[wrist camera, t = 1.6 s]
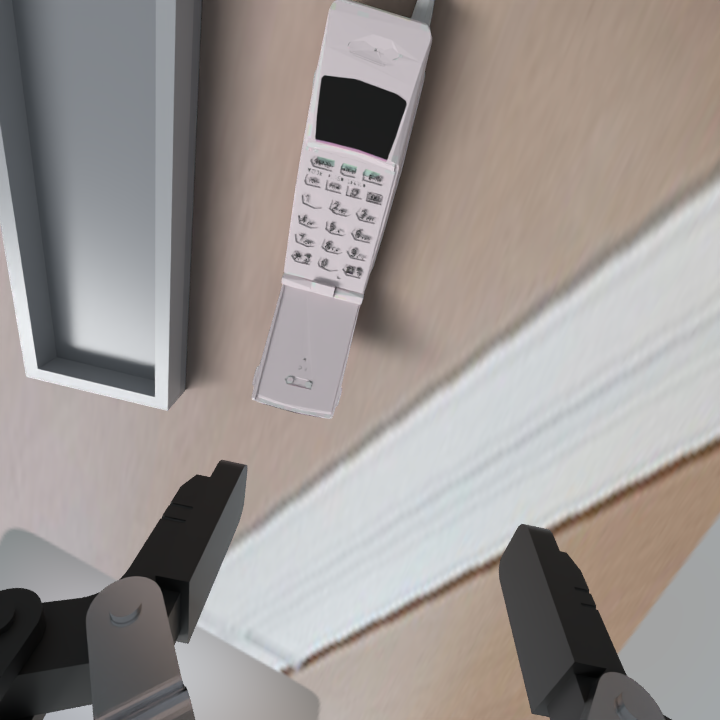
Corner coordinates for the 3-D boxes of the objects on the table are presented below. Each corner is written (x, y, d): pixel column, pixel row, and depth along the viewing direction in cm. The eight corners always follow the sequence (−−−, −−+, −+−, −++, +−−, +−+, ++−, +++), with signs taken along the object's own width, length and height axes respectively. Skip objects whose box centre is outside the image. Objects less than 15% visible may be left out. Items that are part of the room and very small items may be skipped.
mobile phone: (247, 403, 28) (323, -101, 16) (270, 362, 33) (339, -43, 22) (333, 425, 29) (467, -54, 17) (342, 380, 34) (449, -8, 22)
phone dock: (-12, -159, 21) (-73, -204, 18) (206, -96, 21) (178, -131, 18) (54, 359, 35) (26, 376, 32) (185, 390, 35) (167, 410, 32)
